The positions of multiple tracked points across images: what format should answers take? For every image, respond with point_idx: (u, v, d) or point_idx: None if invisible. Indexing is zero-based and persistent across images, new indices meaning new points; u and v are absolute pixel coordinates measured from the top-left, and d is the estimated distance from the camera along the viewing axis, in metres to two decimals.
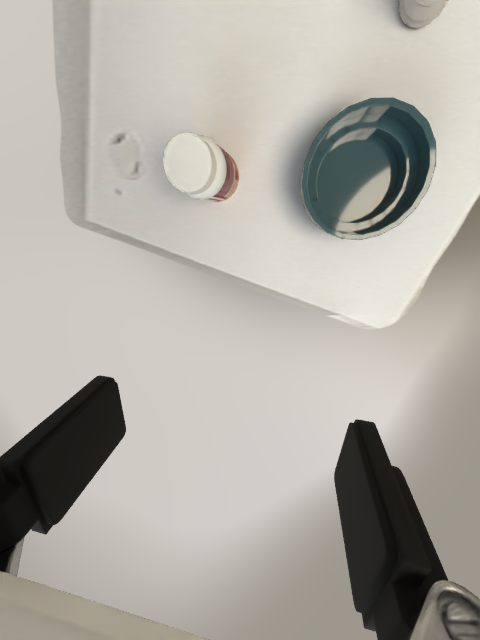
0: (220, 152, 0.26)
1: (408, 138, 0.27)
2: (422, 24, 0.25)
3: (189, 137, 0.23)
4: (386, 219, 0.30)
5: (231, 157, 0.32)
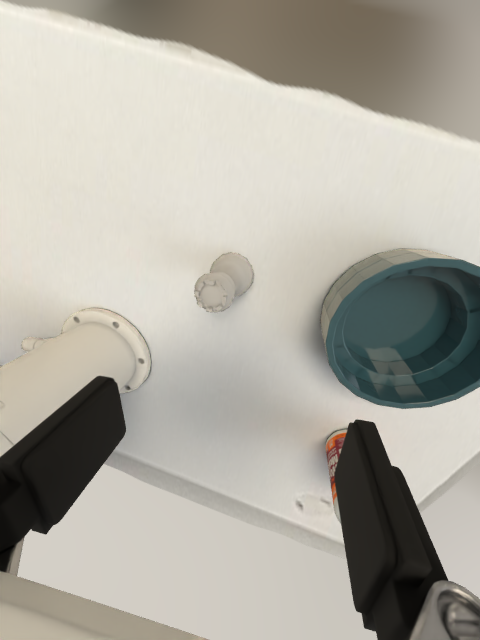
0: None
1: None
2: (252, 272, 0.25)
3: None
4: (476, 290, 0.19)
5: (337, 438, 0.30)
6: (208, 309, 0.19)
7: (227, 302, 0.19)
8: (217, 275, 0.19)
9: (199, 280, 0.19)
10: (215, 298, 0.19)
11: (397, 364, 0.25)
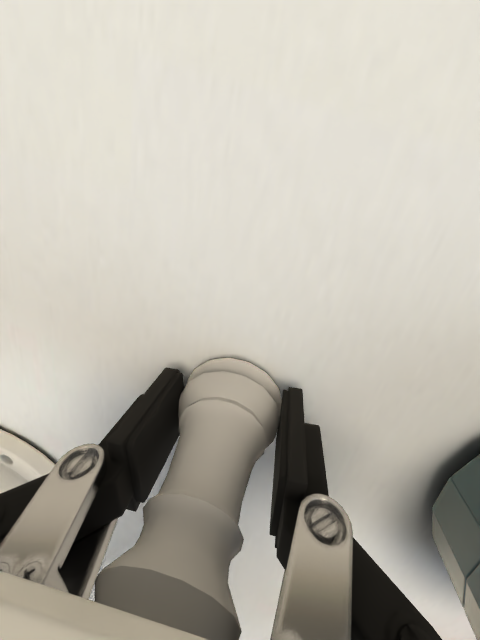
0: None
1: None
2: (279, 402, 0.11)
3: None
4: None
5: None
6: None
7: None
8: (173, 590, 0.04)
9: (104, 586, 0.05)
10: None
11: None
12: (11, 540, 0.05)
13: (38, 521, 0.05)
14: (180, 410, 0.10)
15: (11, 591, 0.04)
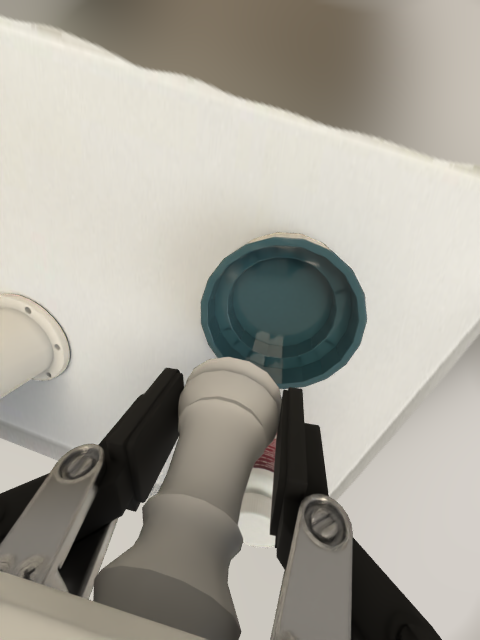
0: None
1: (239, 261, 0.21)
2: (279, 401, 0.11)
3: None
4: (337, 271, 0.20)
5: None
6: None
7: None
8: (172, 590, 0.04)
9: (103, 586, 0.05)
10: None
11: (289, 348, 0.26)
12: (11, 540, 0.05)
13: (38, 521, 0.05)
14: (180, 410, 0.10)
15: (11, 591, 0.04)
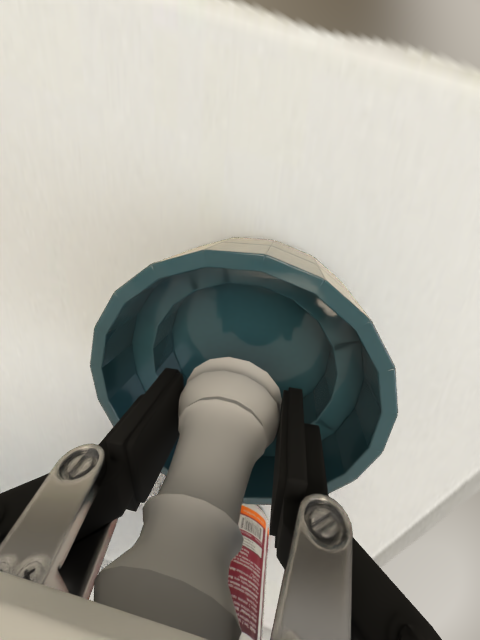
0: None
1: (164, 290, 0.12)
2: (279, 401, 0.11)
3: None
4: None
5: None
6: None
7: None
8: (172, 590, 0.04)
9: (103, 586, 0.05)
10: None
11: None
12: (11, 540, 0.05)
13: (38, 521, 0.05)
14: (180, 410, 0.10)
15: (11, 591, 0.04)
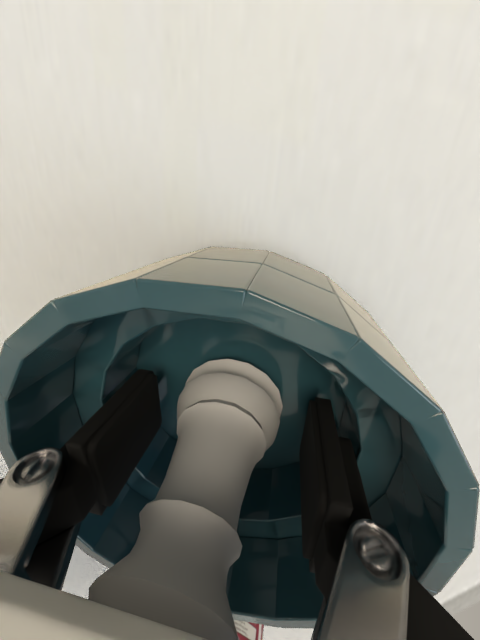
0: None
1: (110, 324, 0.08)
2: (279, 403, 0.10)
3: None
4: None
5: None
6: None
7: None
8: (168, 602, 0.04)
9: (98, 596, 0.05)
10: None
11: (257, 480, 0.12)
12: None
13: None
14: (178, 412, 0.10)
15: (11, 591, 0.04)
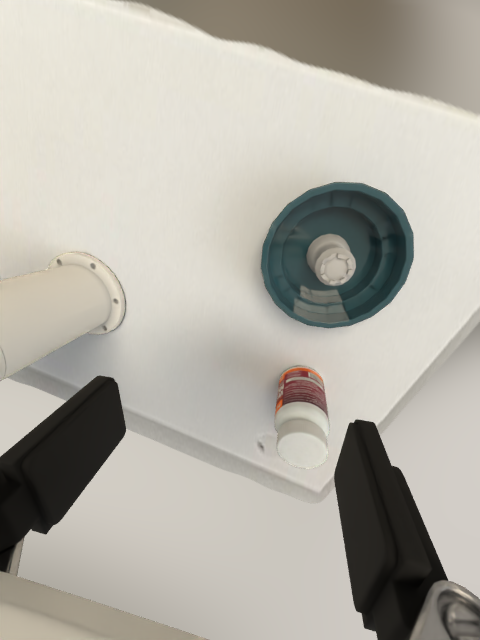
0: (291, 407, 0.27)
1: (296, 212, 0.24)
2: None
3: (281, 444, 0.25)
4: (386, 218, 0.23)
5: (287, 373, 0.33)
6: (331, 281, 0.21)
7: (349, 275, 0.21)
8: (343, 250, 0.20)
9: (324, 254, 0.21)
10: (339, 271, 0.20)
11: (333, 297, 0.28)
12: None
13: None
14: (311, 252, 0.26)
15: (11, 591, 0.04)
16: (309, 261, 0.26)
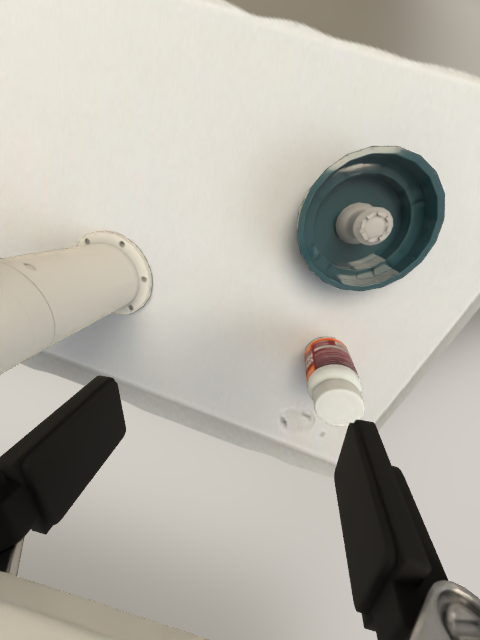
0: (325, 370, 0.28)
1: (329, 180, 0.26)
2: None
3: (319, 402, 0.27)
4: (416, 183, 0.24)
5: (313, 343, 0.35)
6: (371, 239, 0.22)
7: (387, 233, 0.22)
8: (382, 208, 0.22)
9: (363, 214, 0.22)
10: (378, 229, 0.22)
11: (360, 265, 0.30)
12: None
13: None
14: (342, 220, 0.27)
15: (11, 591, 0.04)
16: (340, 229, 0.28)
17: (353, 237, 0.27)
